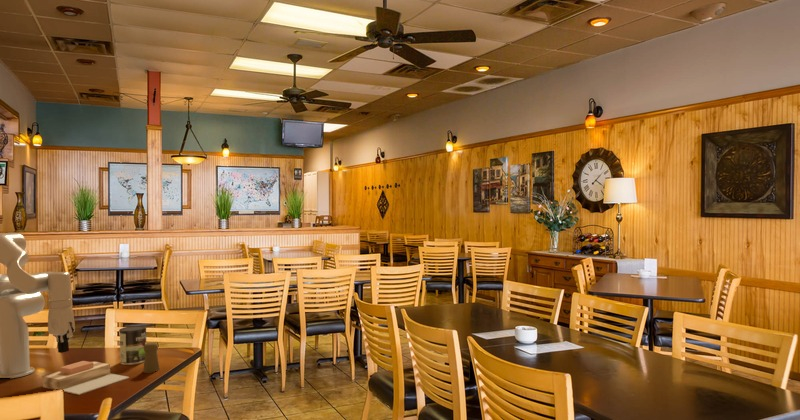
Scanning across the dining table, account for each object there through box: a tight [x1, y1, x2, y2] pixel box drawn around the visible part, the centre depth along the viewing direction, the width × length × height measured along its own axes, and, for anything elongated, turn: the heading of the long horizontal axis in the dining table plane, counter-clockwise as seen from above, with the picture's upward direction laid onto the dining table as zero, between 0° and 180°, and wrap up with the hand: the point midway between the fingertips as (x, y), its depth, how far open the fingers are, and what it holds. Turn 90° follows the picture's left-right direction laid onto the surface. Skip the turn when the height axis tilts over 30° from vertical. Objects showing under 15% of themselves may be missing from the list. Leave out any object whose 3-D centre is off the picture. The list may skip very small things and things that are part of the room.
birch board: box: [41, 360, 111, 391], centre depth 211 cm, size 10×20×4 cm, turn 154°
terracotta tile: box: [59, 360, 93, 374], centre depth 211 cm, size 6×9×2 cm, turn 153°
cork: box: [142, 342, 160, 374], centre depth 221 cm, size 6×6×11 cm
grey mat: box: [63, 373, 130, 396], centre depth 206 cm, size 11×20×1 cm, turn 154°
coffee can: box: [118, 325, 147, 366], centre depth 235 cm, size 10×10×14 cm
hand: (63, 351), depth 214 cm, fingers closed
